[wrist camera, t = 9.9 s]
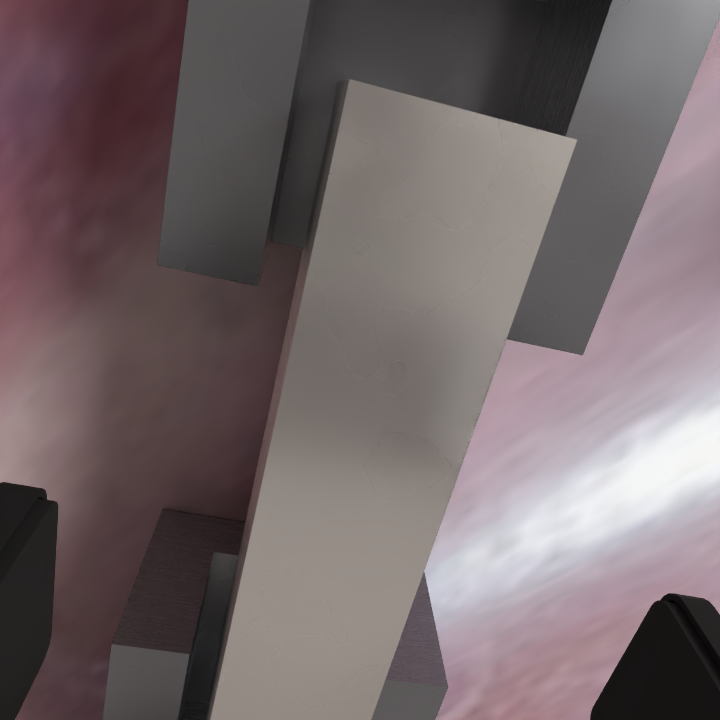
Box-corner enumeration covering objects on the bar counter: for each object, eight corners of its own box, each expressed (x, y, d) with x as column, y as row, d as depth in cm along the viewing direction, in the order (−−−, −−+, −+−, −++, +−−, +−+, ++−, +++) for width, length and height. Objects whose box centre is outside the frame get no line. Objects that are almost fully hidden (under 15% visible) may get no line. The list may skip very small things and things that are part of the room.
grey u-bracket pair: (254, -127, 13) (216, -240, 8) (613, -18, 14) (753, -66, 10) (138, 675, 22) (88, 835, 17) (367, 704, 23) (377, 860, 18)
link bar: (338, 81, 13) (349, 79, 8) (475, 116, 14) (576, 139, 8) (219, 643, 19) (178, 867, 14) (317, 656, 20) (314, 878, 14)
